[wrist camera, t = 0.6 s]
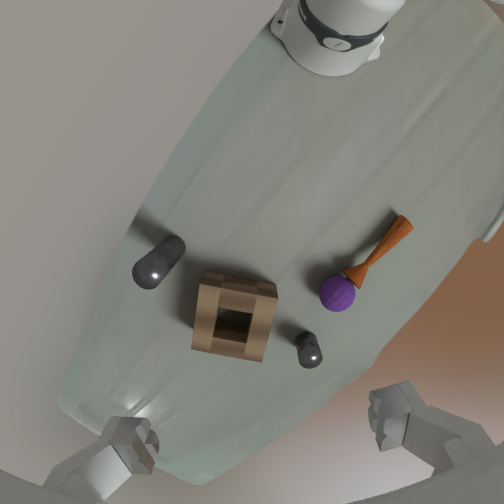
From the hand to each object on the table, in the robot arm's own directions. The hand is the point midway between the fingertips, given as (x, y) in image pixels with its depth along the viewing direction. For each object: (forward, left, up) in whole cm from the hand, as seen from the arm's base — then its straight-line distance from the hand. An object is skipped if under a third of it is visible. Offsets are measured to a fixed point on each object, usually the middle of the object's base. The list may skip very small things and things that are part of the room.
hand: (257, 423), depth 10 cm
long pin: (+7, -13, -42) cm, 44 cm away
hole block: (+16, -1, -42) cm, 45 cm away
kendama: (+3, +19, -42) cm, 46 cm away
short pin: (+20, +13, -42) cm, 48 cm away
